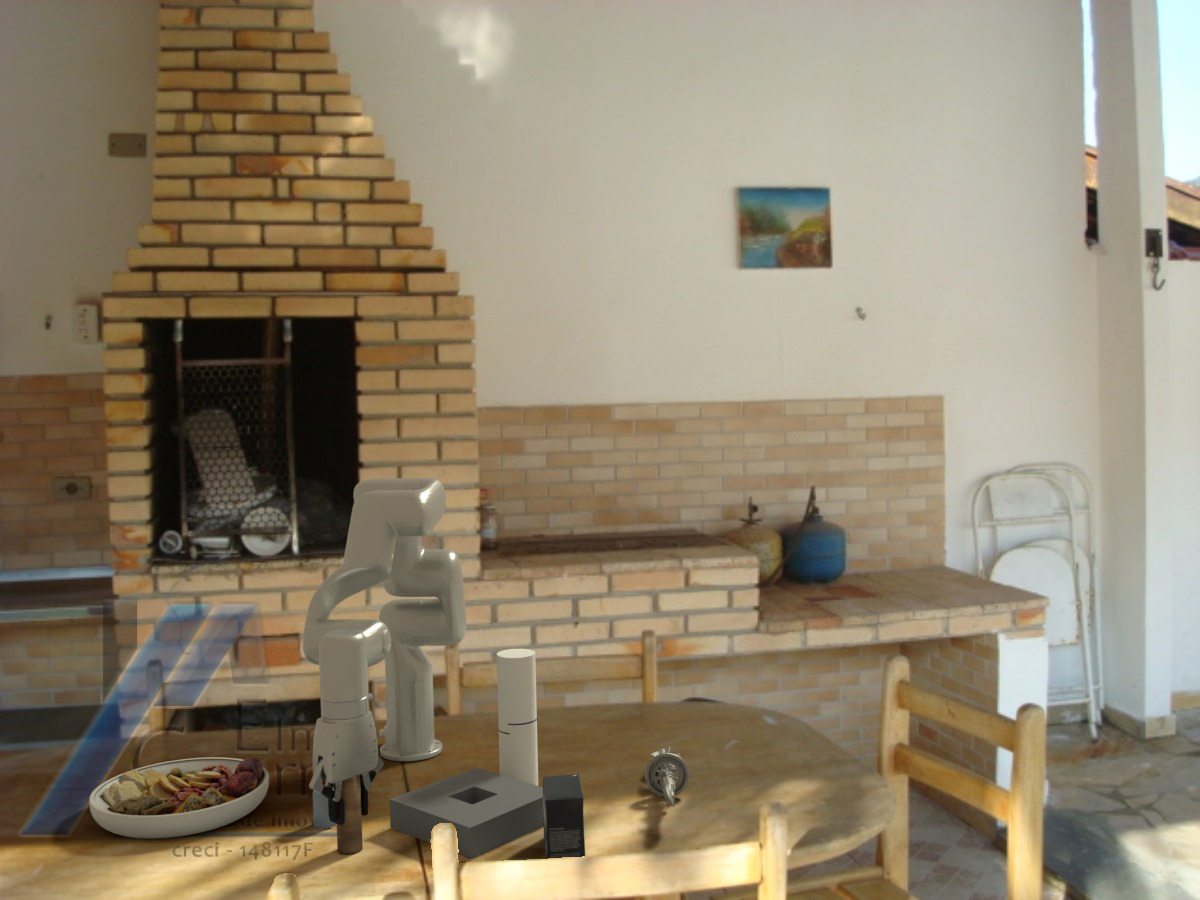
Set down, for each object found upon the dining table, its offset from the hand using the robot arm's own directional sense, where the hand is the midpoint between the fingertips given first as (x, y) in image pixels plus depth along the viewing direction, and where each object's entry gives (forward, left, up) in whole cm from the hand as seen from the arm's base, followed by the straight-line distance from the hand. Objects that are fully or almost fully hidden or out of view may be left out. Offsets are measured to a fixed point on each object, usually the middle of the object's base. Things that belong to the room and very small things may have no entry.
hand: (348, 816), depth 184 cm
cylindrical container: (+1, +38, -6) cm, 38 cm away
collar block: (+8, +20, -5) cm, 22 cm away
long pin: (0, 0, -5) cm, 5 cm away
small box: (+27, +22, -6) cm, 35 cm away
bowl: (-38, -8, -6) cm, 39 cm away
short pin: (-12, +4, -5) cm, 14 cm away
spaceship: (+27, +50, -6) cm, 57 cm away
